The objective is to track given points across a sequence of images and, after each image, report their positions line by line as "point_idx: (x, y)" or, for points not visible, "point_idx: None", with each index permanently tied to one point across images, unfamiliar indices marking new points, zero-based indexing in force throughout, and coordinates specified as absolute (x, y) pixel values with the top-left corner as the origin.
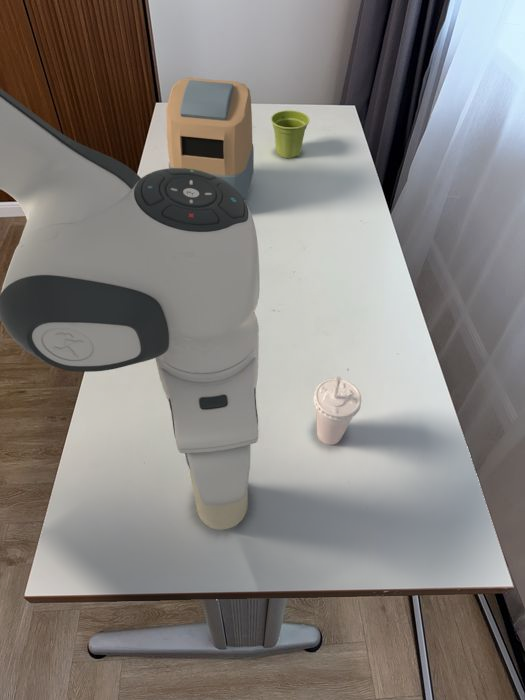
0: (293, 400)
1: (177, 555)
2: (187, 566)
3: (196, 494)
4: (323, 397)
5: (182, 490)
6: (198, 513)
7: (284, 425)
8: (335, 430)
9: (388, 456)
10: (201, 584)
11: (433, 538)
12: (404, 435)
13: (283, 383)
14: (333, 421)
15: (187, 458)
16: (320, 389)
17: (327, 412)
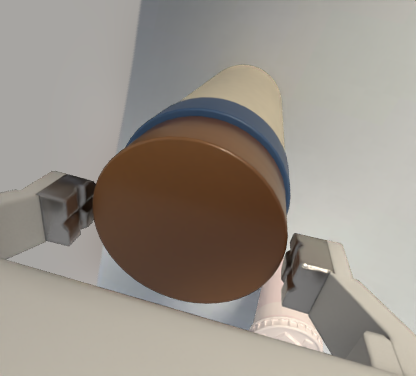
0: (357, 259)
1: (187, 12)
2: (168, 25)
3: (210, 81)
4: (293, 337)
5: (292, 48)
6: (236, 66)
7: (324, 232)
8: (259, 297)
9: (227, 302)
10: (139, 40)
11: (137, 286)
12: (244, 325)
13: (396, 262)
14: (258, 315)
15: (180, 110)
16: (309, 342)
17: (264, 329)
